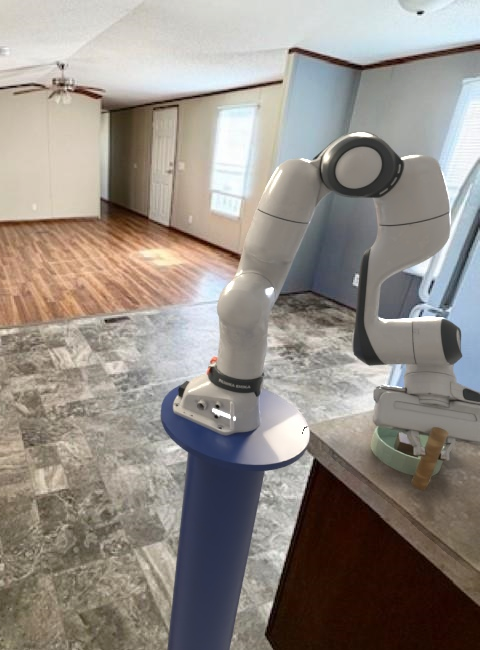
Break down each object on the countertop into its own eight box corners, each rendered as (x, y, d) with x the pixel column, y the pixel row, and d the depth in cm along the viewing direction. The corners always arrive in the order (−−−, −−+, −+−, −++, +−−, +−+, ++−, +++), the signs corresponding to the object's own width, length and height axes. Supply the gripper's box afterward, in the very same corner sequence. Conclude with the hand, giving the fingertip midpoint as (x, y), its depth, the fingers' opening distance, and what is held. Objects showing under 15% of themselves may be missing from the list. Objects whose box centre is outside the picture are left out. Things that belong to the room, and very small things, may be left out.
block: (394, 455, 96) (399, 441, 95) (393, 445, 99) (398, 431, 98) (416, 461, 94) (421, 447, 93) (414, 451, 97) (419, 437, 96)
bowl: (370, 463, 95) (376, 447, 93) (369, 430, 105) (374, 415, 104) (444, 485, 89) (451, 468, 87) (435, 448, 99) (441, 433, 98)
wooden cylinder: (411, 487, 88) (432, 432, 83) (410, 479, 90) (430, 425, 85) (427, 491, 87) (449, 436, 81) (425, 483, 89) (447, 429, 84)
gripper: (378, 379, 90) (377, 444, 85) (497, 397, 84) (503, 469, 79) (368, 386, 96) (367, 448, 91) (479, 404, 89) (483, 471, 85)
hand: (431, 458), depth 85 cm, fingers closed on wooden cylinder, 2 cm apart
